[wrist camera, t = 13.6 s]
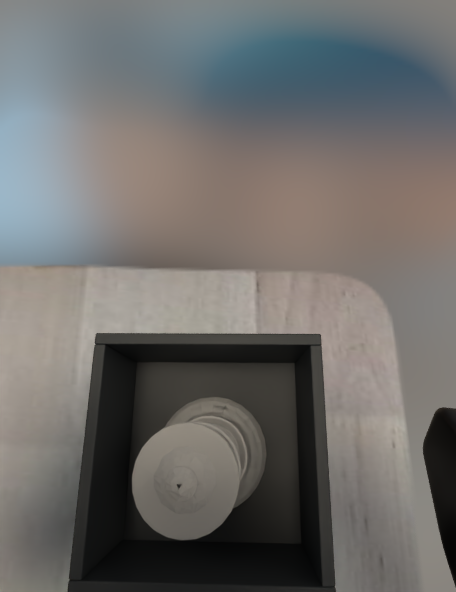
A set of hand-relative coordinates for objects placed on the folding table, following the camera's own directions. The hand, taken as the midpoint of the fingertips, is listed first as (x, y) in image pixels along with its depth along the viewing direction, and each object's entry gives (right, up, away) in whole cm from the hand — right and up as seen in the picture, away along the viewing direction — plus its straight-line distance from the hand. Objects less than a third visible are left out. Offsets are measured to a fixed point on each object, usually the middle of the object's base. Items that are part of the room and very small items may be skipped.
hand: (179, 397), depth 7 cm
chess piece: (0, -5, +10) cm, 11 cm away
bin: (0, -5, +11) cm, 12 cm away
